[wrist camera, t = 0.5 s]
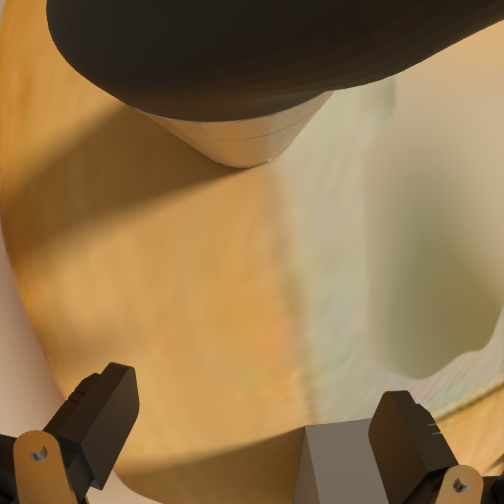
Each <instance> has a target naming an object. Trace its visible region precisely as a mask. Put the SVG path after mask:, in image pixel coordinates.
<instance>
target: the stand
mask: <svg viewBox="0 0 504 504" xmlns="http://www.w3.org/2000/svg"><path fill="white" fill-rule="evenodd" d="M371 420H372V418H371V419H365V420H358V421H350V422H342V423H334V424H324V425H312V426H305V430H304V437H303V444H302V450H301V456H300V462H299V468H298V474H297V480H296V485H295V491H294V496H293V501H292V504H389V503H388V499H387V496H386V493H385V489H384V486H383V483H382V480H381V476H380V473H379V470H378V467H377V464H376V461H375V457H374V454H373V451H372V448H371V445H370V442H369V438H368V430H369V425H370V422H371Z"/></svg>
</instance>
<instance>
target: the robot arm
mask: <svg viewBox="0 0 504 504" xmlns="http://www.w3.org/2000/svg"><path fill="white" fill-rule="evenodd" d="M46 14H47V21H48V27H49V31H50V34H51V37H52V39H53V41H54V43H55V45H56V47H57V49H58V50H59V52H60V53H61V55H62V56H63V57H64V58H65V60H66V61H67V62H68V63H69V64H70V65H71V66H72V67H73V68H74V69H75V70H76V71H77V72H78V73H79V74H81V75H82V76H83V77H85V78H86V79H87V80H89V81H90V82H91V83H93V84H94V85H96V86H97V87H99V88H101V89H102V90H104V91H106V92H107V93H109V94H110V95H112V96H114V97H115V98H117V99H119V100H120V101H122V102H124V103H126V104H128V105H129V106H131V107H133V108H134V109H136V110H137V111H139V112H140V113H142V114H144V115H145V116H147V117H148V118H150V119H151V120H153V121H155V122H156V123H158V124H159V125H161V126H162V127H164V128H165V129H167V130H168V131H170V132H171V133H173V134H174V135H176V136H177V137H179V138H180V139H182V140H183V141H185V142H186V143H188V144H189V145H190V146H192V147H193V148H195V149H196V150H198V151H199V152H200V153H202V154H203V155H205V156H206V157H208V158H209V159H211V160H212V161H214V162H217V163H219V164H222V165H225V166H228V167H235V168H248V167H256V166H259V165H262V164H265V163H267V162H269V161H271V160H273V159H274V158H276V157H277V156H279V155H280V154H281V153H282V152H283V151H284V150H285V149H286V148H287V147H288V146H289V144H290V143H291V142H292V141H293V140H294V139H295V138H296V136H297V135H298V134H299V133H300V132H301V130H302V129H303V128H304V127H305V126H306V124H307V123H308V122H309V121H310V120H311V119H312V117H313V116H314V115H315V114H316V113H317V111H318V110H319V109H320V108H321V107H322V106H323V104H324V103H325V102H326V101H327V100H328V99H329V97H330V96H331V95H332V94H333V92H334V91H335V90H340V89H346V88H351V87H356V86H361V85H365V84H368V83H372V82H375V81H379V80H382V79H384V78H387V77H389V76H392V75H394V74H397V73H399V72H401V71H404V70H406V69H408V68H410V67H411V66H413V65H415V64H418V63H420V62H422V61H423V60H425V59H427V58H429V57H431V56H432V55H434V54H436V53H438V52H440V51H442V50H443V49H445V48H447V47H449V46H451V45H453V44H455V43H457V42H459V41H460V40H462V39H464V38H466V37H468V36H470V35H472V34H474V33H476V32H478V31H480V30H482V29H485V28H487V27H489V26H491V25H493V24H495V23H497V22H499V21H501V20H504V0H47V5H46ZM138 413H139V396H138V389H137V381H136V373H135V369H134V368H133V367H131V366H126V365H122V364H118V363H114V362H110V363H109V364H108V365H107V367H106V368H105V369H104V371H103V372H102V373H101V374H97V373H94V374H92V375H90V376H88V377H87V378H85V379H83V380H82V381H81V382H80V384H79V385H78V386H77V387H76V388H75V390H74V392H72V393H71V395H70V396H69V397H68V400H66V401H65V402H64V404H63V405H62V406H61V407H60V409H59V410H58V411H57V413H56V414H55V415H54V416H53V418H52V419H51V420H50V422H49V423H48V424H47V425H46V427H45V428H44V429H43V430H42V431H38V430H34V431H29V432H25V433H23V434H22V435H20V436H19V437H18V438H15V437H10V436H6V435H2V434H0V504H89V501H88V498H87V496H86V493H87V491H88V489H89V487H90V486H91V487H94V488H96V489H99V490H103V487H104V485H105V483H106V481H107V479H108V477H109V475H110V473H111V470H112V468H113V466H114V464H115V462H116V460H117V458H118V456H119V454H120V452H121V450H122V448H123V446H124V444H125V441H126V439H127V437H128V435H129V433H130V431H131V429H132V427H133V425H134V423H135V421H136V419H137V416H138ZM440 432H441V431H440V429H439V428H438V426H437V425H436V423H435V421H434V419H433V417H432V416H431V414H430V412H428V411H427V410H426V409H425V408H424V407H423V406H421V405H420V404H416V403H415V402H414V400H413V398H412V396H411V395H410V393H409V392H408V391H407V390H403V391H386V392H385V393H384V394H383V395H382V398H381V400H380V402H379V405H378V407H377V409H376V411H375V414H374V416H373V418H372V420H371V422H370V425H369V430H368V438H369V442H370V445H371V448H372V451H373V454H374V457H375V461H376V464H377V467H378V470H379V473H380V476H381V480H382V483H383V486H384V489H385V493H386V496H387V499H388V503H389V504H504V472H503V473H502V474H501V475H500V476H486V477H482V476H481V475H480V473H479V472H478V471H477V470H475V469H474V468H472V467H470V466H466V465H459V464H458V462H457V460H456V458H455V456H454V454H453V453H452V451H451V449H450V447H449V445H448V444H447V442H446V440H445V438H444V436H443V435H442V434H441V433H440Z"/></svg>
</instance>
